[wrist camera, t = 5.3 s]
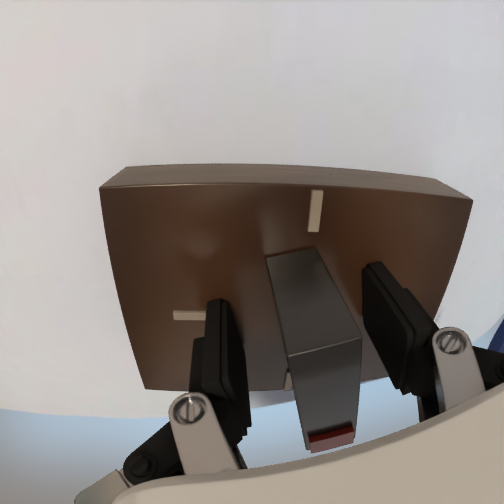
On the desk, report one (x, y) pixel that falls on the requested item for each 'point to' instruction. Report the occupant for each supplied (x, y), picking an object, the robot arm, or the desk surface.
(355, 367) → the handle
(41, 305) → the desk surface
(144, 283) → the panel
